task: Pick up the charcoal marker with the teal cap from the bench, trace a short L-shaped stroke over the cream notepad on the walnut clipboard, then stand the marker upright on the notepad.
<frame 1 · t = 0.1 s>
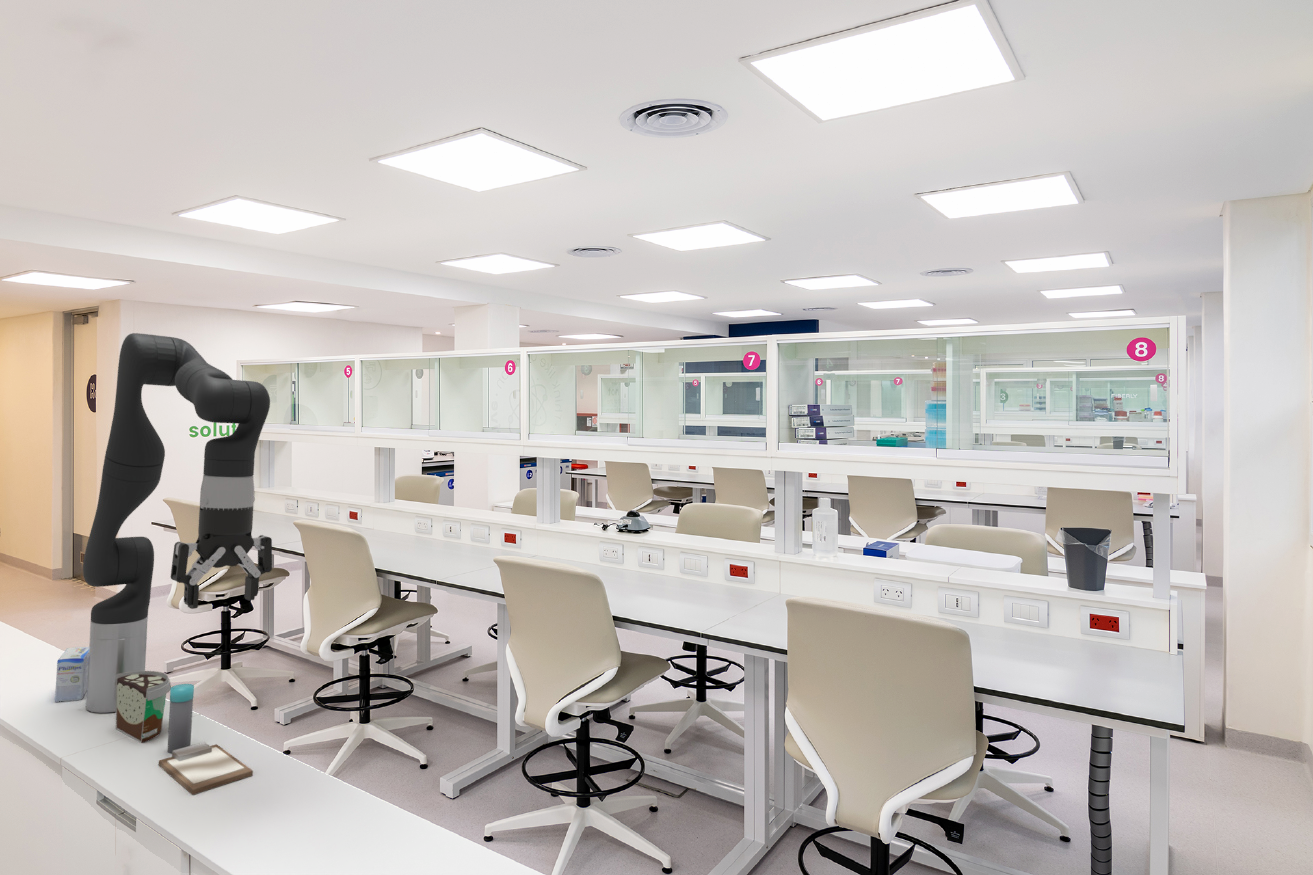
hand: (221, 603, 119), 29 cm above the lab bench, tool pointing down, fingers open, 8 cm apart
marker: (178, 749, 130), on the lab bench
food container: (146, 731, 136), on the lab bench
medicine box: (73, 695, 150), on the lab bench
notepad: (205, 770, 123), on the lab bench
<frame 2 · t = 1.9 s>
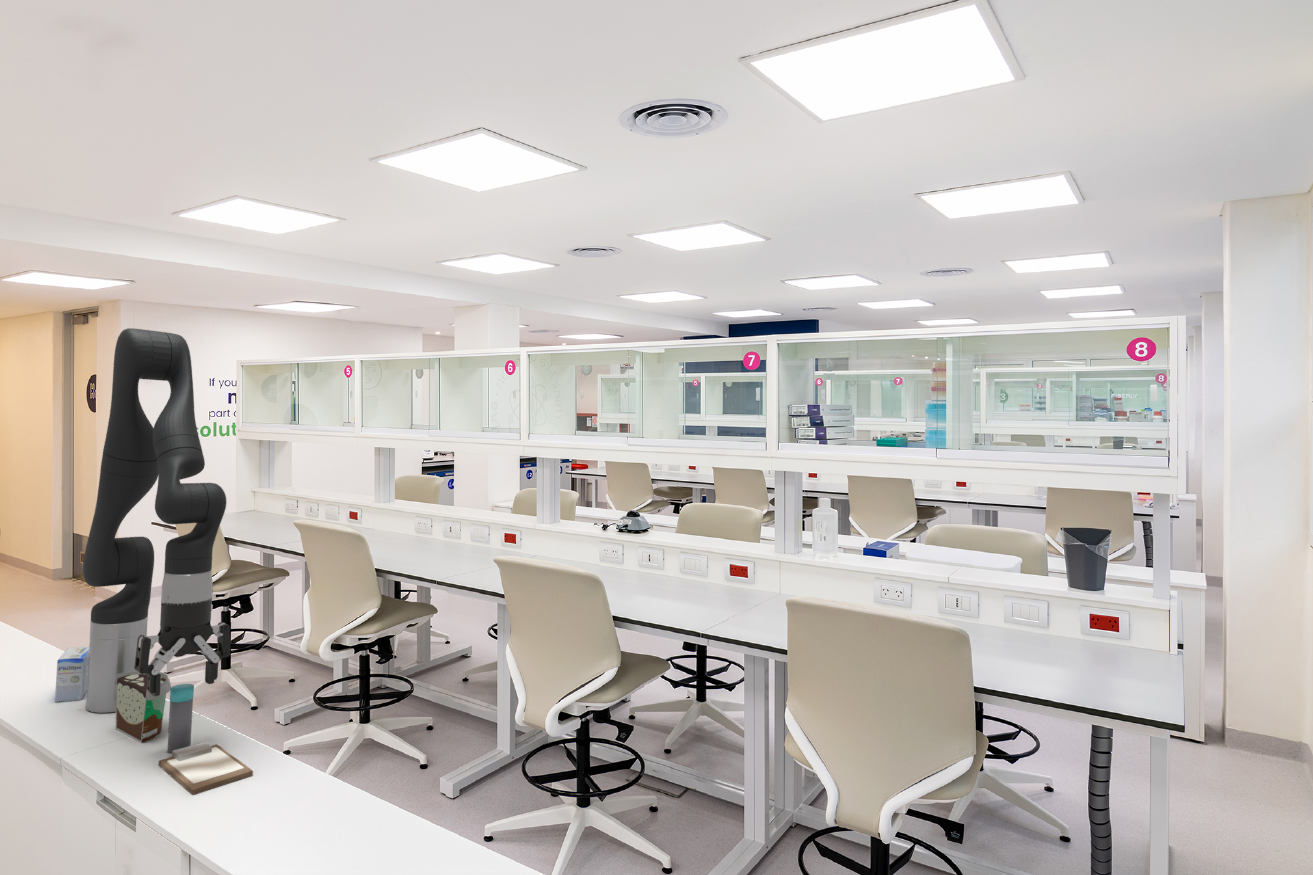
hand: (182, 688, 130), 11 cm above the lab bench, tool pointing down, fingers open, 8 cm apart
nothing on the lab bench moved.
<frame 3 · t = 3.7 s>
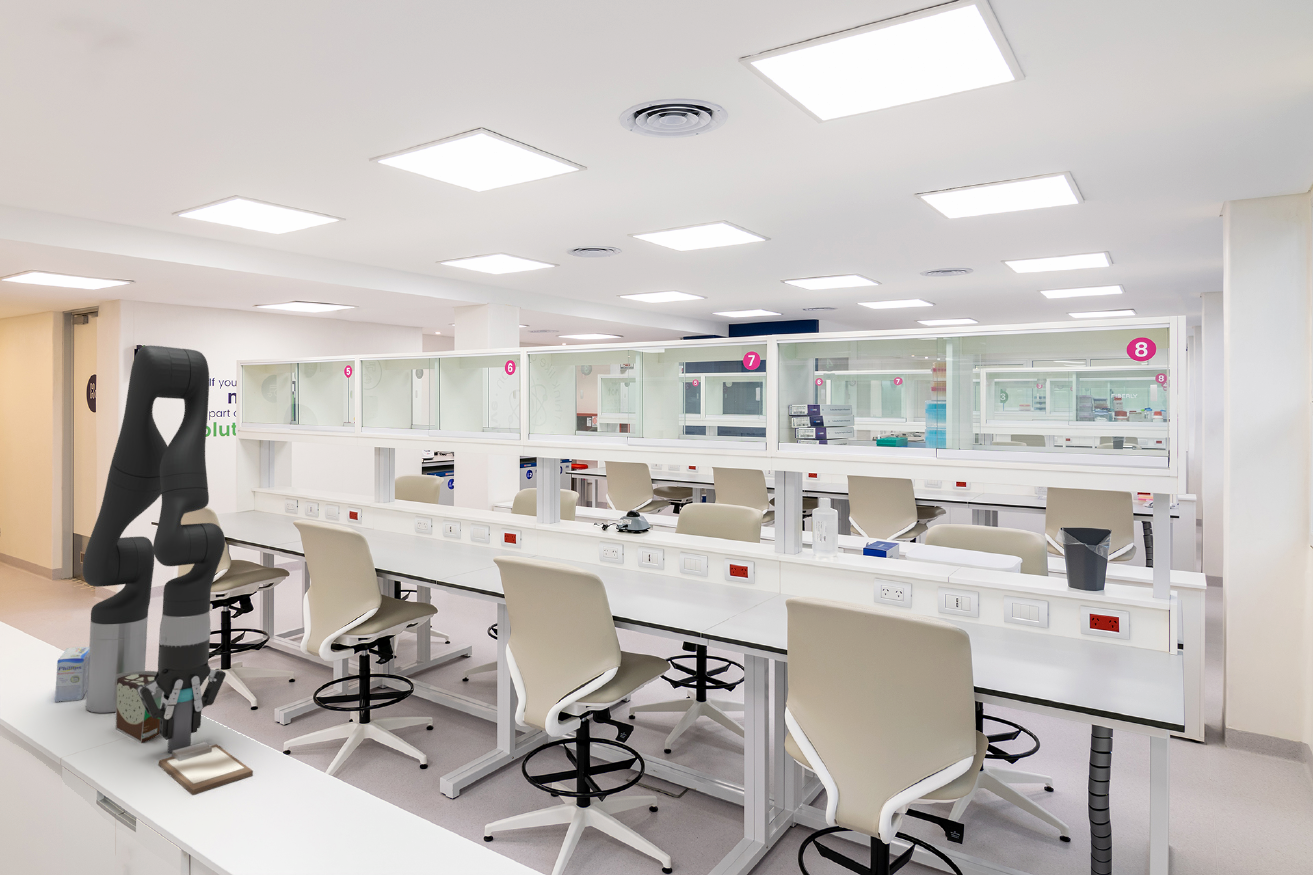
hand: (179, 734, 130), 3 cm above the lab bench, tool pointing down, fingers closed on marker, 3 cm apart
marker: (179, 749, 130), on the lab bench, touching gripper
everything else where it was.
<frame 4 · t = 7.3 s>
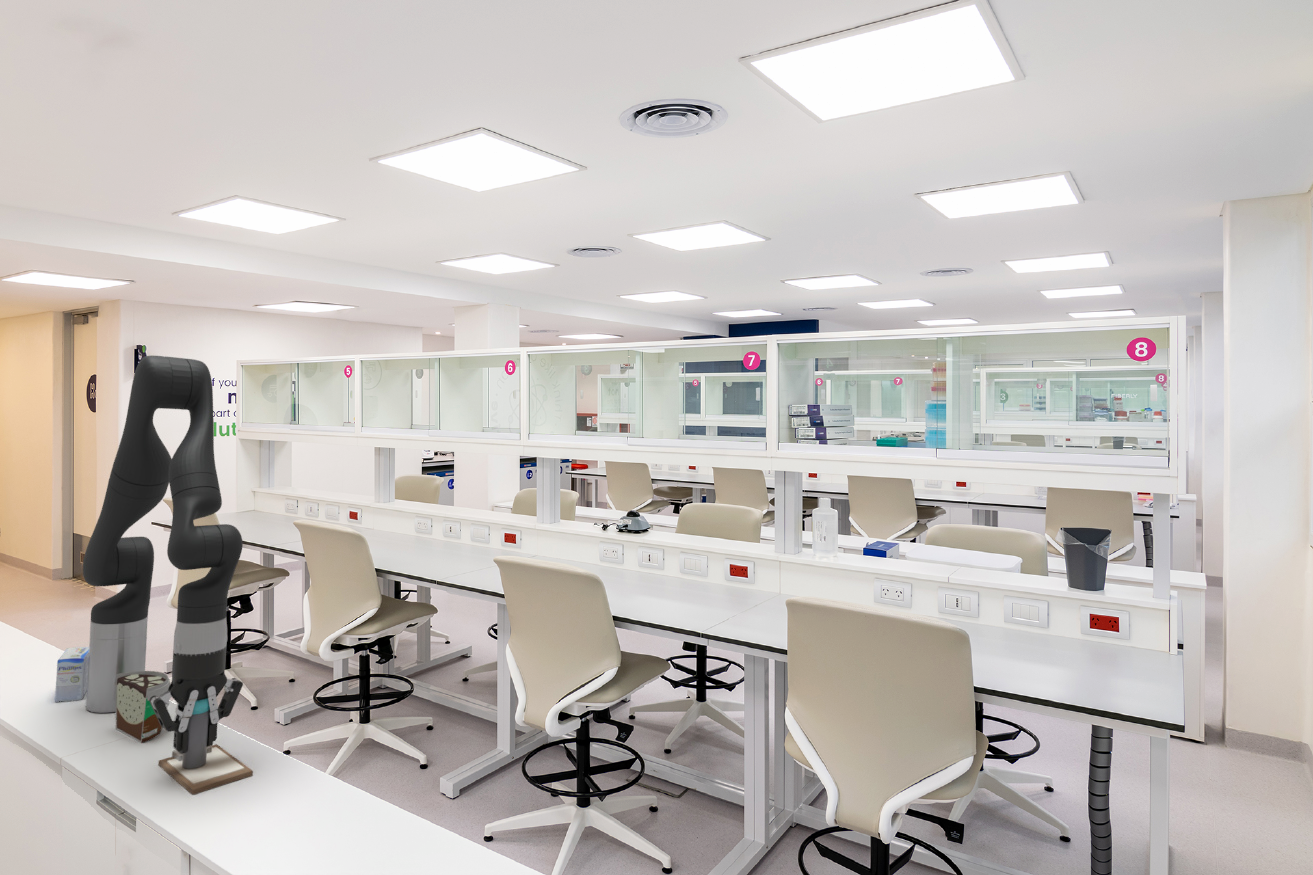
hand: (194, 747, 123), 4 cm above the lab bench, tool pointing down, fingers closed on marker, 3 cm apart
marker: (194, 763, 123), point 1 cm above the lab bench, touching gripper
everything else where it was.
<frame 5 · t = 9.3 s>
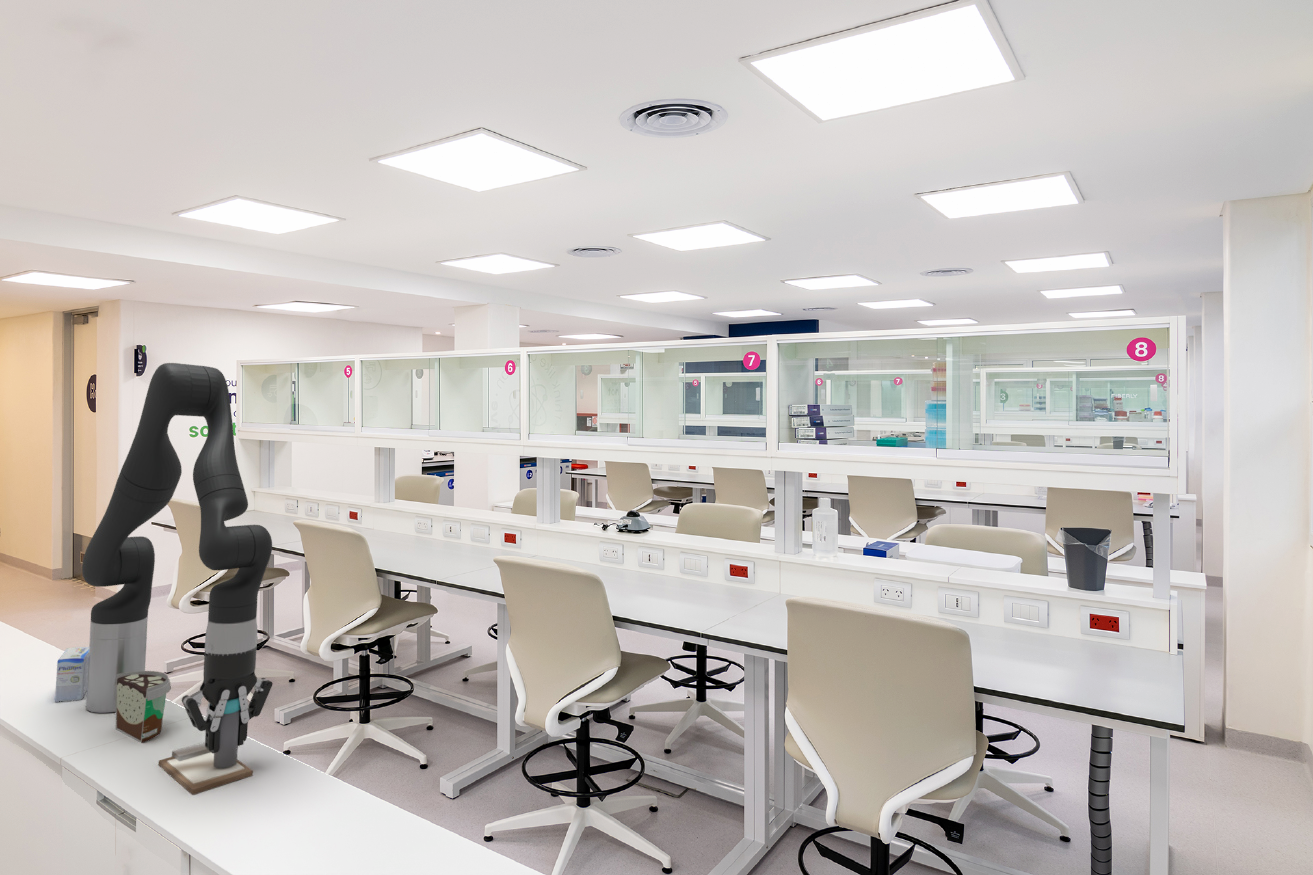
hand: (225, 747, 123), 4 cm above the lab bench, tool pointing down, fingers closed on marker, 3 cm apart
marker: (225, 763, 123), point 1 cm above the lab bench, touching gripper
everything else where it was.
when the fingers open (5 cm above the lab bench, at t = 11.1 s): marker stays where it is, resting on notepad.
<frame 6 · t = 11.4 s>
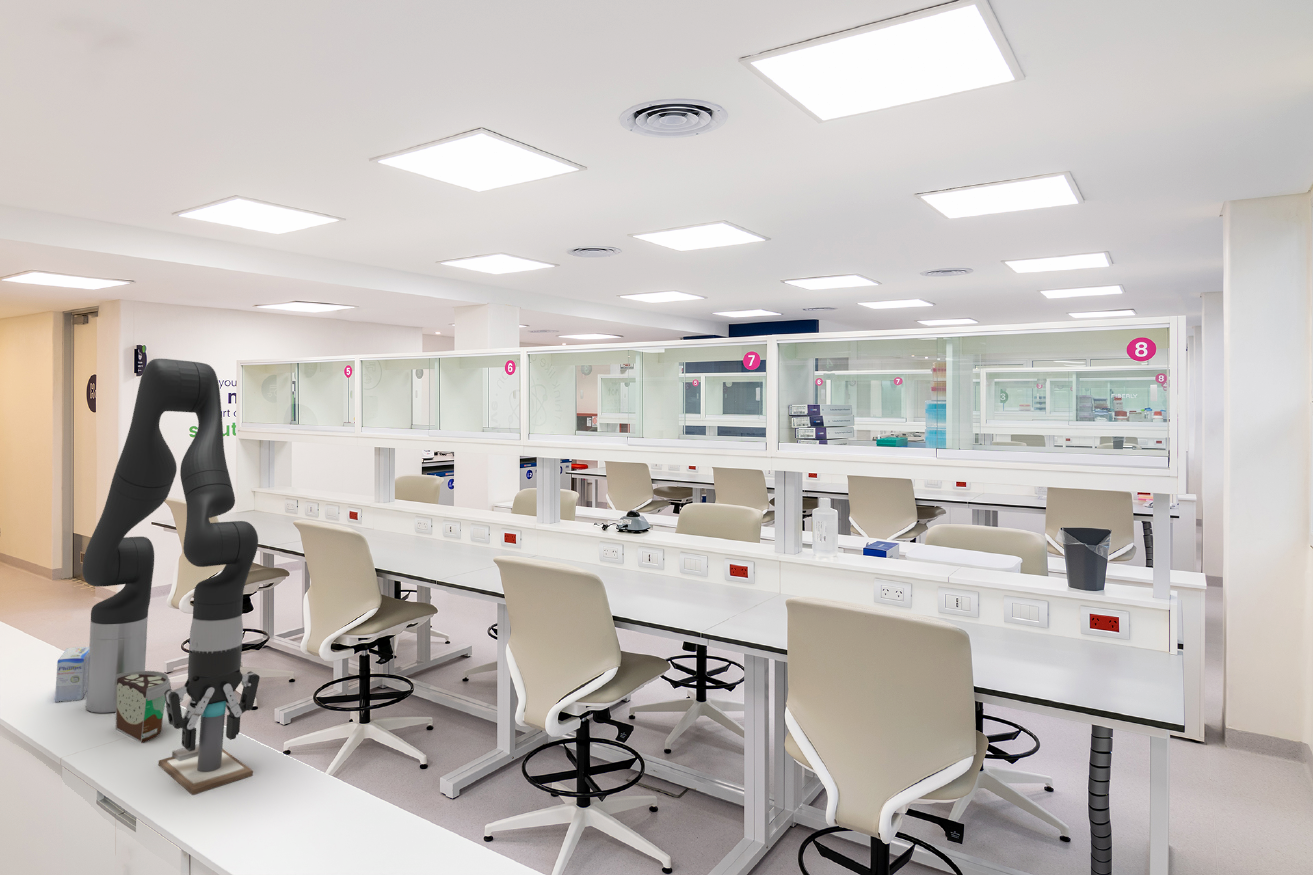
hand: (210, 743, 122), 5 cm above the lab bench, tool pointing down, fingers open, 5 cm apart
marker: (209, 767, 122), point 1 cm above the lab bench, touching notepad
everything else where it was.
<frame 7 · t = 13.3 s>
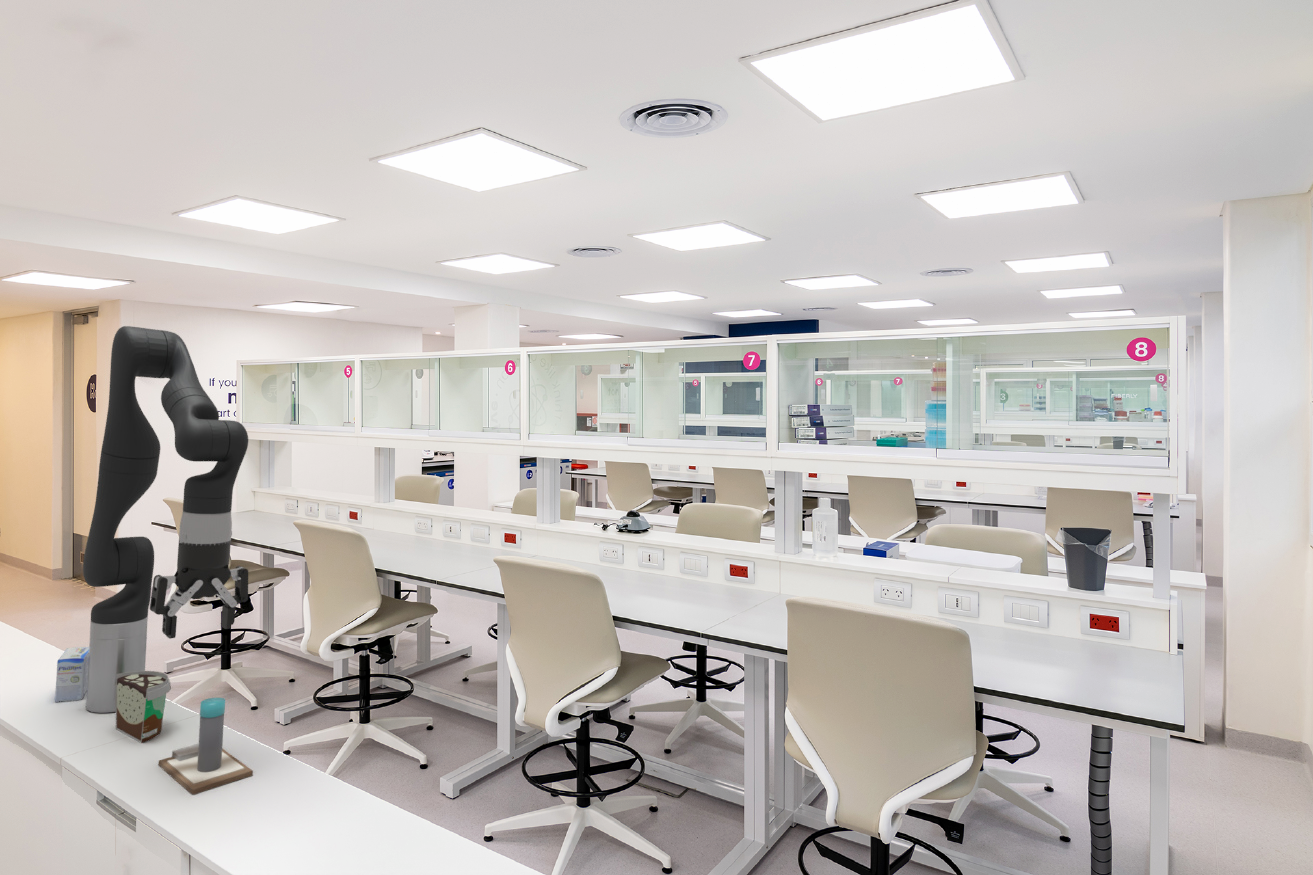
hand: (198, 632, 125), 22 cm above the lab bench, tool pointing down, fingers open, 8 cm apart
nothing on the lab bench moved.
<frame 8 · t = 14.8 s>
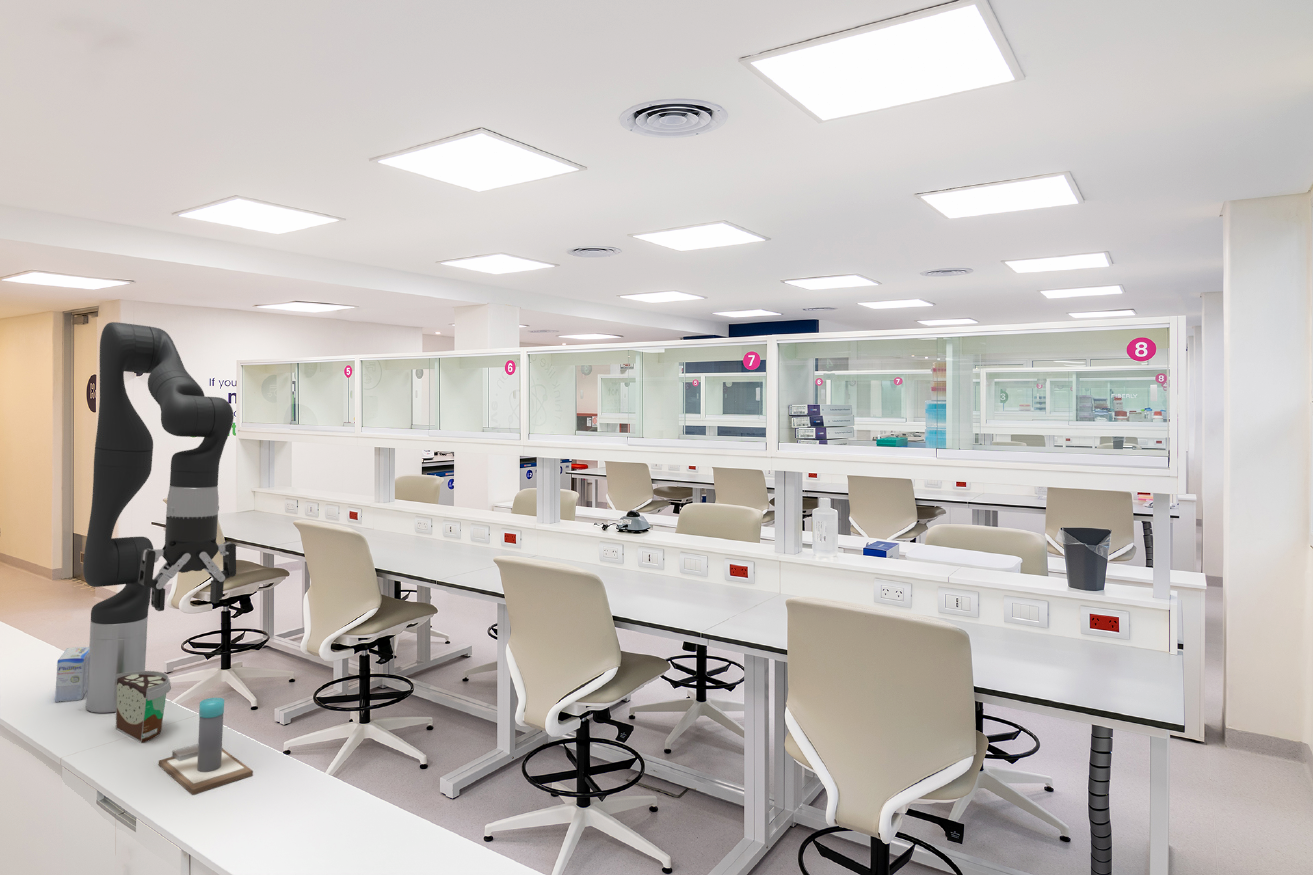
hand: (187, 606, 127), 26 cm above the lab bench, tool pointing down, fingers open, 8 cm apart
nothing on the lab bench moved.
at the end: marker inside the target area on the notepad (1.5 cm from its centre), point 1.0 cm above the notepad's base; marker tilted 1°; the gripper is holding nothing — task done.
